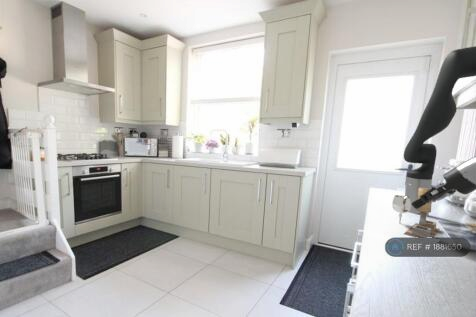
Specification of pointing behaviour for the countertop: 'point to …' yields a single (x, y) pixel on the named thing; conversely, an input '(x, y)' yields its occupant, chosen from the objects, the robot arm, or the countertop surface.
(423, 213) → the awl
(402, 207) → the wineglass
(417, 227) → the plank
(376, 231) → the countertop surface
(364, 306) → the countertop surface
